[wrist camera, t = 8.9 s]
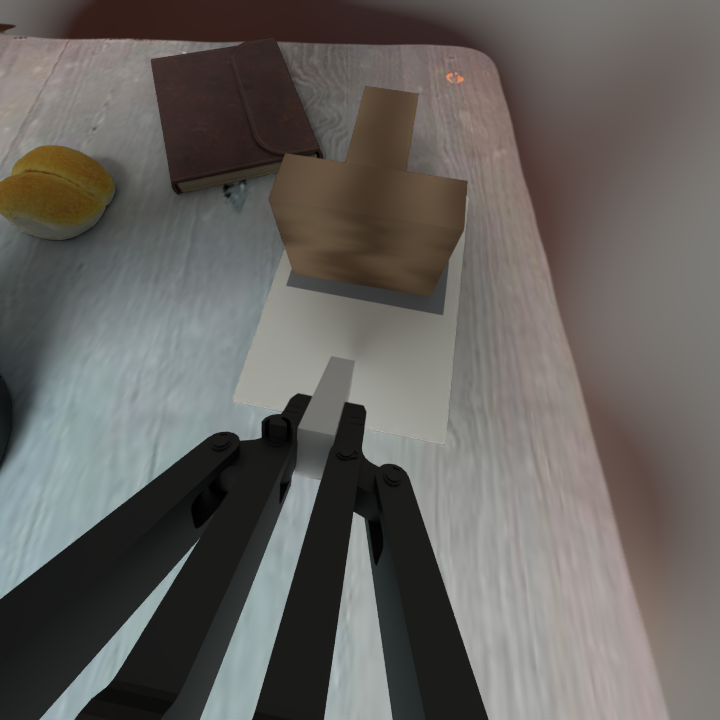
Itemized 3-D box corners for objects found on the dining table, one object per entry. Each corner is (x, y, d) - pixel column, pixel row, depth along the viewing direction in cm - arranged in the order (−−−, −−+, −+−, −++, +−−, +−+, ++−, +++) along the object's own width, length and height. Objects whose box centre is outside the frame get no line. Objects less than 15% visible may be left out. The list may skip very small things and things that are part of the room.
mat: (234, 401, 21) (231, 400, 20) (312, 174, 28) (311, 169, 28) (443, 444, 20) (445, 444, 20) (466, 200, 27) (468, 196, 27)
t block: (293, 274, 24) (268, 199, 17) (322, 174, 27) (312, 78, 20) (430, 296, 23) (464, 229, 16) (441, 192, 27) (472, 101, 20)
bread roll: (132, 176, 28) (97, 133, 24) (92, 248, 25) (45, 212, 21) (53, 165, 28) (6, 121, 24) (5, 235, 25) (-58, 197, 21)
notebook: (178, 197, 27) (165, 179, 25) (157, 77, 33) (145, 54, 31) (323, 166, 29) (321, 146, 27) (280, 57, 35) (276, 35, 33)
